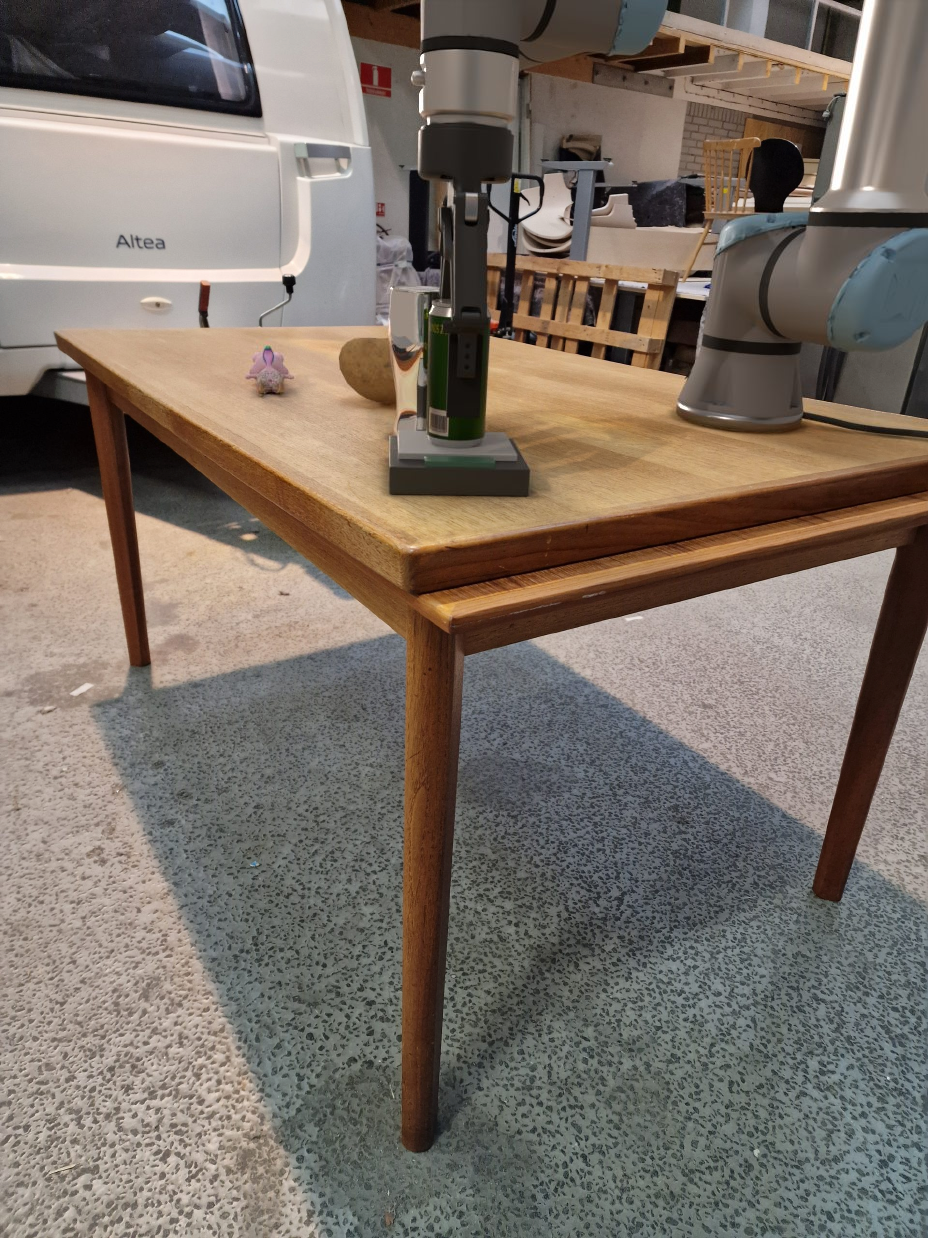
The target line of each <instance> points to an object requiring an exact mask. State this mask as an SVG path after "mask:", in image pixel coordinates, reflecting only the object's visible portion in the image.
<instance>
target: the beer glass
mask: <svg viewBox="0 0 928 1238" xmlns="http://www.w3.org/2000/svg"><path fill="white" fill-rule="evenodd" d="M439 287H440V286H431V285H430V286H429V285H394V286H391V287H390V297H389V310H388V327H387V328H388V331H387V332H388V333H387V334H388V338H389V351H390V360H391V366H392V372H393V378H394V385H395V392H396V405H395V416H394V422H393V428H392V434H391V436H398V430H411V431H426V416H427V372H428V327H429V312H430V310H431V308H432V306H433V305H432V300H438V294H439Z"/></svg>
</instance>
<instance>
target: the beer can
mask: <svg viewBox="0 0 928 1238" xmlns="http://www.w3.org/2000/svg"><path fill="white" fill-rule="evenodd" d="M432 305H433V306H432V308H431V310H430V312H429V327H428V372H427V416H426V434H427V437H428V439H429V442H430V443H431V444H434V445H436V446H440V447H447V448H471V447H476V446H479V445H480V444H481V442H482V440H483V438H484V436H485V432H486V419H487V418H486V417H487V399H488V398H487V397H488V380H489V378H488V377H489V363H490V344H491V342H490V341H491V325H492V324H491V323H492V314H491V312H490V309H489V307H490V303H489V302H488V301H487V317H488V324H487V326H486V329H485V330H484V331H483V335H484V338H483V358H482V378H481V398H480V418H447V417H446V401H447V369H448V338H449V334H446V333H442V324H443V321H451V299H438V300H432Z"/></svg>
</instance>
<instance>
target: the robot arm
mask: <svg viewBox="0 0 928 1238" xmlns="http://www.w3.org/2000/svg"><path fill="white" fill-rule="evenodd" d="M668 3H669V0H420V51H419V52H420V54H419V55H420V62H419V63H420V67H421V69H422V70H418V69H416V70H413V71H412V74H411V83H412V84H413V86H417V87H422V89H421V90H420V92H419V115H420V116H421V117H422V118H423V119H425V120H427V124H424V125H422V126H421V127H420V129H419V130H418V140H417V141H418V144H417V147H418V149H417V150H418V151H417V152H418V153H417V173H418V176H419V177H420V178H421V179H422V180H425V181H431V182H445V183H448V187H447V189H448V190H447V194H444V195H443V197H442V198H443V199H441V206H438V211H437V229H438V231H439V238H438V246H439V247H438V249H439V251H438V252H439V256H440V271H439V286H438V287H439V294H438V299H451V321H443V324H442V333H446V334H449V338H448V369H447V401H446V417H447V418H480V398H481V378H482V358H483V338H484V335H483V331H484V330H485V329H486V326H487V324H488V317H487V302H488V248H489V244H488V243H489V242H488V233H489V227H490V223H491V212H490V211H491V210H490V208H489V206H490V197H489V193H488V192H483V189H482V184H484V185H501V184H508V183H509V182H510V181H511V179H512V175H513V160H514V144H515V135H514V134H513V133H512V132H513V131H512V130H511V129H509V128H508V127H509V124H510V123H513V122H514V120H516V118H517V104H518V87H519V75H520V74H519V73H520V72H521V71H523V70H527V69H530V68H533V67H536V66H539V65H543V64H545V63H550V62H551V63H552V62H554V61H558V60H562V59H565V58H569V57H571V56H575V55H578V54H582V53H586V52H587V53H588V52H591V53H592V52H593V53H600V54H604V55H605V56H606V57H612V56H614V55H617V56H618V55H621V56H635V55H638V54H639V53H641V52H643V51H644V50H646V48H647V47H649V45H650V44H651V43H652V42H653V40H654V39H655V37H656V35H657V34H658V32H659V30H660V28H661V26H662V23H663V21H664V18H665V16H666V12H667V8H668ZM839 128H840V129H839V134H838V140H837V144H836V145H837V146H836V151H835V156H834V161H833V167H832V172H831V177H830V182H829V188H828V189H827V191H826V192H825V194H824V195H822V196H821V197H820V198H819V199H818V200H817V201H816V202H815V203H814V204H812V205H811V207H809V211H808V212H807V211H806V212H804V211H803V212H801V211H800V212H799V211H797V212H796V211H795V212H794V211H793V212H792V211H791V212H776V213H761V214H760V213H759V214H753V215H752V214H751V215H747V216H741V217H737V218H734V219H732V220H730V221H728V222H727V223H726V224H725V225H724V226H723V228H722V229H721V230H720V233H719V238H718V241H717V242H718V243H717V246H716V250H715V253H714V255H713V264H712V272H711V277H710V278H711V279H710V284H709V290H708V298H707V305H706V312H705V319H704V325H703V333H702V339H701V344H700V350H699V353H698V356H697V357H696V361H695V362H694V364H693V365H692V368H691V369H689V370H688V372H687V373H686V375H685V377H684V380H685V383H684V384H683V386H682V389H681V391H680V393H679V394H678V397H677V402H676V407H675V414H676V416H678V417H679V418H680V419H683V420H685V421H687V422H690V423H694V424H697V425H702V426H706V427H711V428H716V429H723V430H731V431H739V432H740V431H741V432H752V433H754V432H755V433H779V432H789V431H793V430H796V429H799V428H800V427H801V426H802V425H801V424H802V420H807V421H813V422H816V423H821V424H827V425H831V426H834V427H838V428H842V429H846V430H853V431H856V432H857V431H858V432H863V433H871V434H878V435H888V436H898V437H911V438H920V439H921V438H922V439H928V430H919V429H908V428H896V427H888V426H887V427H885V426H877V425H869V424H864V423H856V422H852V421H847V420H843V419H839V418H835V417H830V416H827V415H821V414H817V413H811V412H808V411H805V410H804V402H803V401H804V400H803V391H802V390H803V389H802V381H801V373H800V363H799V362H800V355H801V350H802V346H803V343H808V344H814V345H819V346H820V345H821V346H825V347H829V348H834V349H836V350H838V351H841V352H844V353H849V352H860V353H868V354H879V353H884V352H887V351H891V350H893V349H895V348H897V347H900V346H901V345H903V344H904V343H906V342H907V341H908V340H910V339H911V338H912V337H913V336H914V335H915V334H916V332H917V331H918V330H920V329H922V328H923V326H924V325H925V324H926V323H927V322H928V196H927V193H926V191H925V190H926V189H925V185H926V181H927V176H928V0H863V3H862V8H861V15H860V19H859V25H858V31H857V34H856V41H855V46H854V52H853V57H852V64H851V69H850V73H849V79H848V85H847V90H846V96H845V102H844V106H843V113H842V116H841V124H840V127H839Z"/></svg>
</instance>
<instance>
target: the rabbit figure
mask: <svg viewBox="0 0 928 1238" xmlns="http://www.w3.org/2000/svg"><path fill="white" fill-rule="evenodd" d="M252 361H253V365H252V366H251V367H250V369H249V374H246V375H245V376H244V378H245V380H252V379H254V380H255V385H256V389H257V391H258V392H257V394H258V395H259V394H260V395H262V394H267V393H268V392H274V393H275V394H280V396H281V397H282V396H283V395H282V393H283V394H285V381H284V380H285V379H289V380H294V379H295V376H294V375H292V374H290V372H289V370H288V368H287V367H286V366H285V365H284V361H285V358H284V355H283V354H282V353H280V352H274V351H273V349H272V347H271V346H270V345H269V344H266V345H265V346H264V349H263V351H262V352H260V351H259V352H254V353H253V355H252Z"/></svg>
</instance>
